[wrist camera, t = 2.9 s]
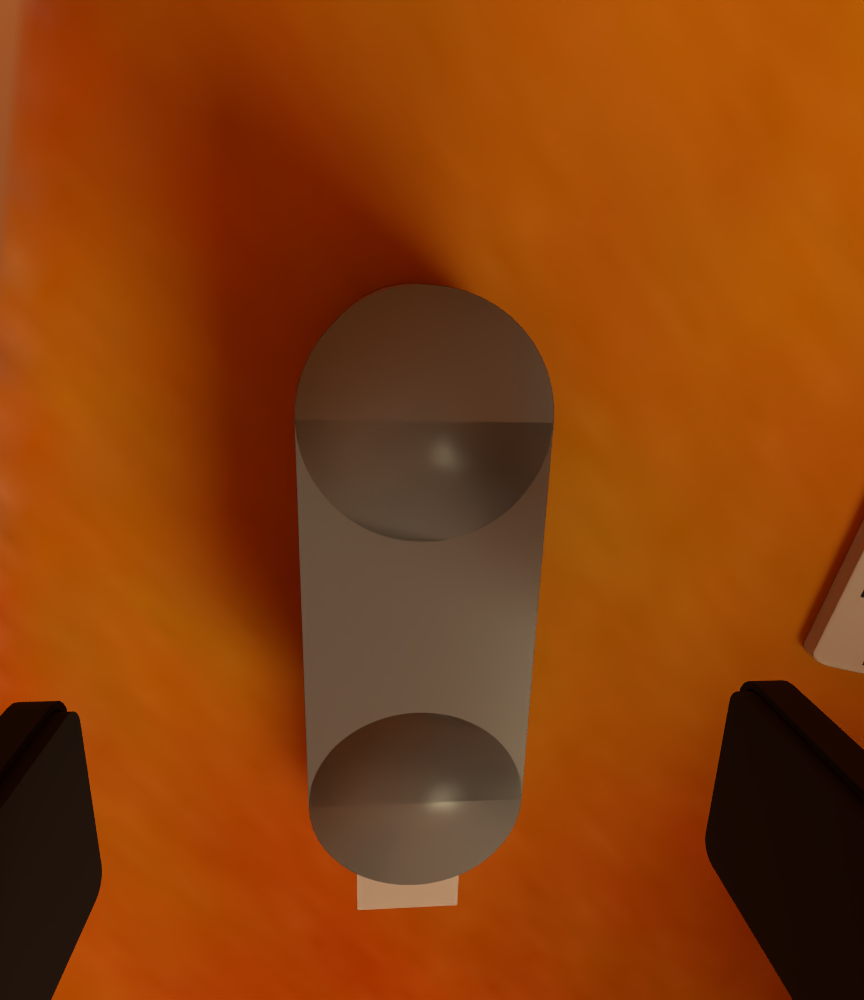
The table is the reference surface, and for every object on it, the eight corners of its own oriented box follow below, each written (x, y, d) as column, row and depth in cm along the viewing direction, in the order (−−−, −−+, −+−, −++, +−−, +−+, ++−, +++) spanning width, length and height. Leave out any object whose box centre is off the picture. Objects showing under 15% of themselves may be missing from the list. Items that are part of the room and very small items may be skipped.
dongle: (316, 280, 15) (289, 281, 10) (507, 286, 16) (565, 288, 11) (329, 824, 20) (315, 994, 15) (475, 818, 20) (505, 982, 16)
